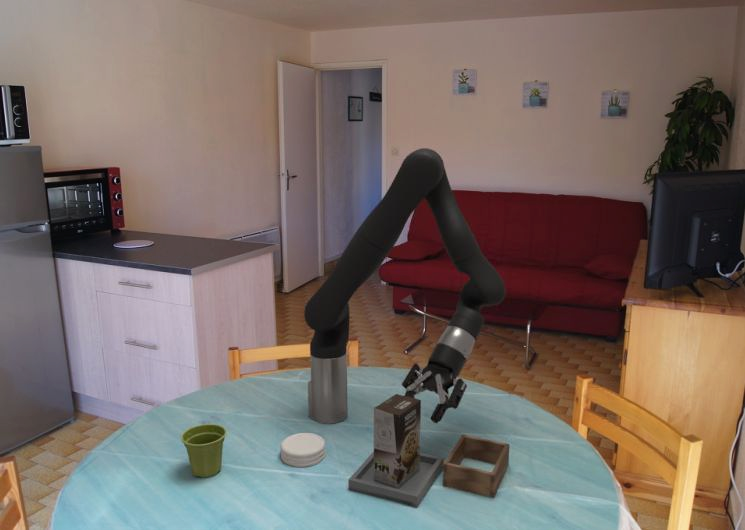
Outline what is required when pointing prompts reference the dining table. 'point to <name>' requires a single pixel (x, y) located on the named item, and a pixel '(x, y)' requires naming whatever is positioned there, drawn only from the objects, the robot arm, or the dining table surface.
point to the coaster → (303, 449)
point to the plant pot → (204, 448)
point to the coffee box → (397, 440)
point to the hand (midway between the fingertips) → (418, 415)
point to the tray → (407, 492)
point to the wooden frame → (472, 477)
